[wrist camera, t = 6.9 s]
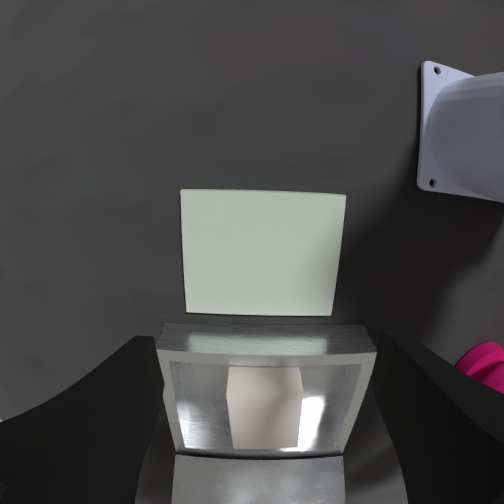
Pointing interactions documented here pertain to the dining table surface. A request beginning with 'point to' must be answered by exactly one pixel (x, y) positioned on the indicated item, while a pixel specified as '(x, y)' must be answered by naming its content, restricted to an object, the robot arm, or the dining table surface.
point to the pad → (261, 251)
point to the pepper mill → (485, 365)
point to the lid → (258, 481)
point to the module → (264, 406)
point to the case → (263, 354)
